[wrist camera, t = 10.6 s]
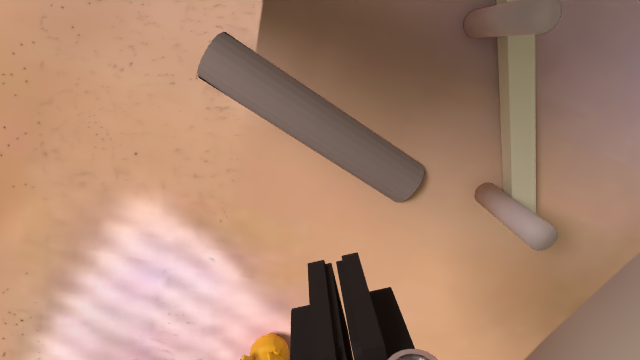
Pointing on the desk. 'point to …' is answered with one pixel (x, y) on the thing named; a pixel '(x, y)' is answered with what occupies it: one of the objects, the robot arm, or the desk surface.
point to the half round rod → (308, 117)
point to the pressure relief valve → (269, 349)
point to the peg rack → (516, 112)
